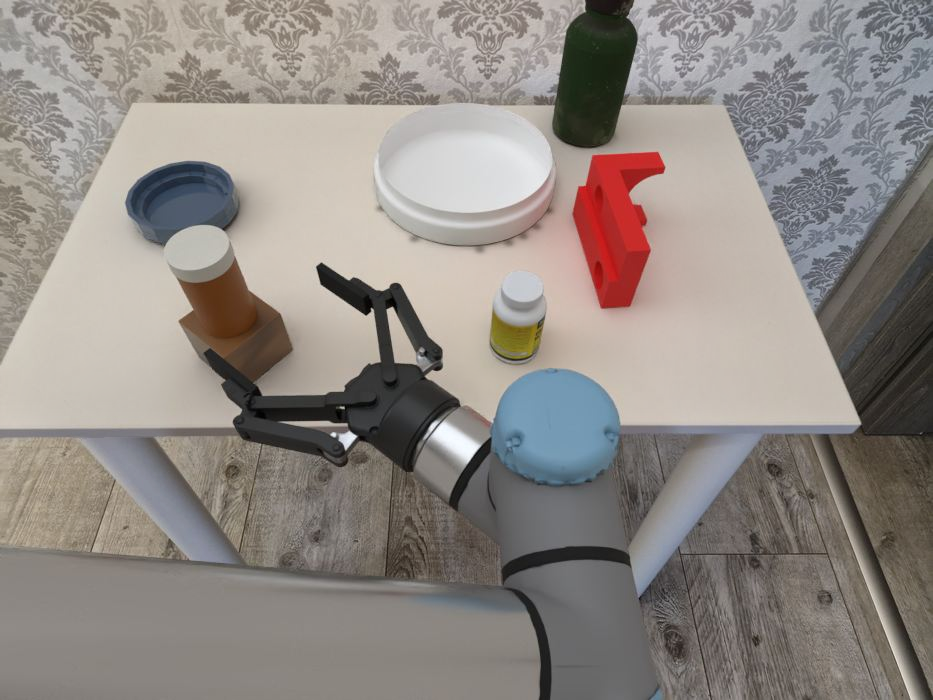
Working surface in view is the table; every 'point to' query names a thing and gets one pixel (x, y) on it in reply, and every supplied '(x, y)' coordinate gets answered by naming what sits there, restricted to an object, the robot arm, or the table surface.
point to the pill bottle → (518, 317)
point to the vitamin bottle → (211, 280)
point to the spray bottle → (594, 72)
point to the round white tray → (464, 174)
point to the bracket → (615, 223)
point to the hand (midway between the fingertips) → (268, 313)
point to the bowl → (181, 199)
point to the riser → (244, 341)
